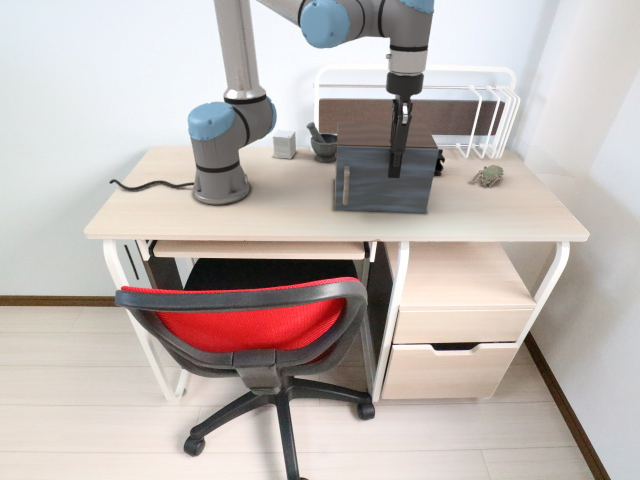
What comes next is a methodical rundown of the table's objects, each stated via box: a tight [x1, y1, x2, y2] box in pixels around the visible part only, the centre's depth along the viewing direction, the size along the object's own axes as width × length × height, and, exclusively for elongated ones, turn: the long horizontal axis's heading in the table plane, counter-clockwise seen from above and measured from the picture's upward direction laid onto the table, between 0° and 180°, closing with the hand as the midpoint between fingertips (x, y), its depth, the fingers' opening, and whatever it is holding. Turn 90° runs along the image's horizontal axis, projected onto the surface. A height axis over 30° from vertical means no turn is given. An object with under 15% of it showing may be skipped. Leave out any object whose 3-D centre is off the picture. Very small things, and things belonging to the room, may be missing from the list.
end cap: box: [433, 148, 446, 177], centre depth 120 cm, size 10×7×7 cm
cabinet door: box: [334, 145, 440, 214], centre depth 95 cm, size 6×24×18 cm, turn 87°
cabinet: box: [334, 120, 439, 193], centre depth 104 cm, size 16×24×18 cm, turn 88°
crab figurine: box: [470, 164, 505, 187], centre depth 116 cm, size 9×11×5 cm
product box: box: [272, 129, 297, 160], centre depth 128 cm, size 6×6×7 cm
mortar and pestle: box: [306, 121, 337, 163], centre depth 124 cm, size 11×9×12 cm
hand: (393, 176), depth 92 cm, fingers closed
